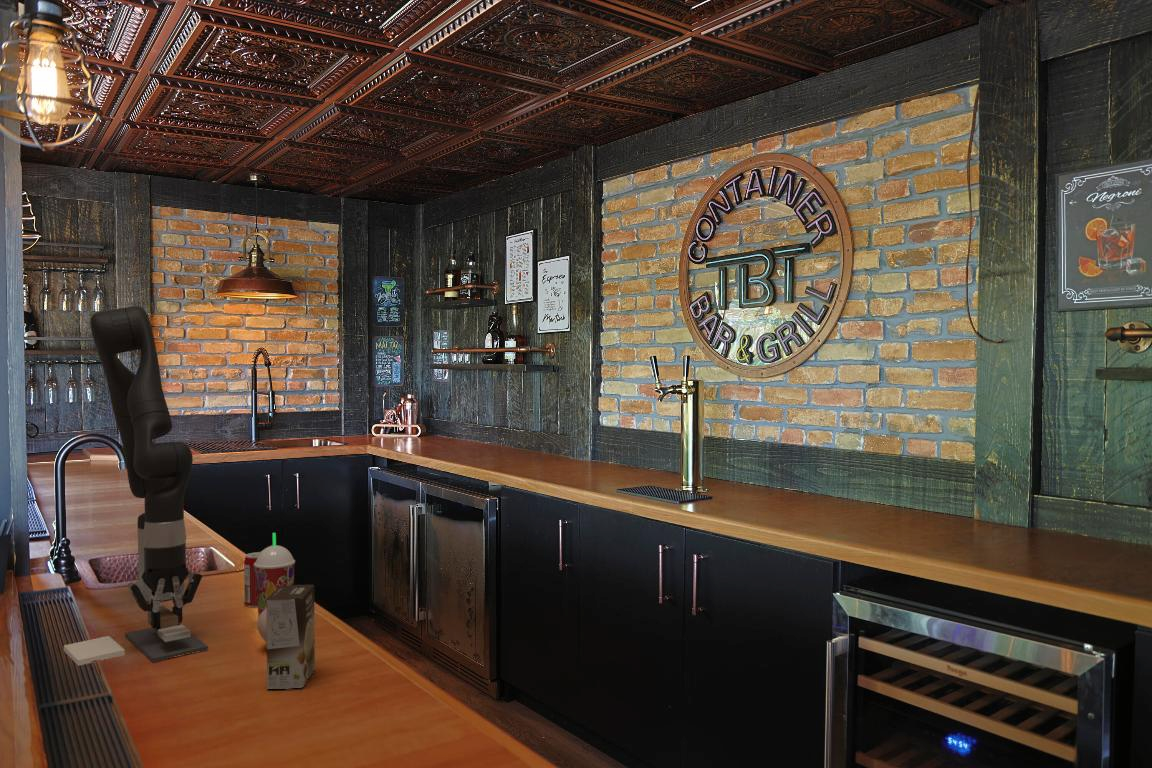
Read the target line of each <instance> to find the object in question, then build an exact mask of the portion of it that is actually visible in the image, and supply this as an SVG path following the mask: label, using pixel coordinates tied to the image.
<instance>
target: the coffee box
mask: <svg viewBox="0 0 1152 768" xmlns="http://www.w3.org/2000/svg"><path fill="white" fill-rule="evenodd" d="M266 608H267V642H266V681H267V684H266V685H267V686H266V687H267V689H286V690H290V689H289V688H300V687H304V688H305V686H306V685H307V683H308V682H309V680H310V678H311V677H312V675H313V674H314V672H315V671H316V649H315V648H316V646H315V645H316V640H315V637H316V634H315V628H316V625H315V623H316V622H315V621H316V620H315V615H316V614H315V584H294V585H291V586H280V587H279V588H278V589H277V590H276V591H274V592H273V593H272V594H271V595H270V596H269V597H268V598H267V599H266ZM314 670H315V671H314ZM313 671H314V672H313ZM312 673H313V674H312ZM311 674H312V675H311ZM310 676H311V677H310ZM309 677H310V678H309ZM308 679H309V680H308ZM306 682H307V683H306ZM305 684H306V685H305ZM304 685H305V686H304ZM267 689H266V690H267Z"/></svg>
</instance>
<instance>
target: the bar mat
mask: <svg viewBox="0 0 1152 768" xmlns="http://www.w3.org/2000/svg"><path fill="white" fill-rule="evenodd" d="M124 637H125V638H126V639H127V640H128V641H129V642H131V644H132V645H133V646H134V647H136V648H137V649H138V650H139V651H140V652H141V653H142V654H143V655H144V656H145V657H146V658H147V659H148V660H150V662H152V663H153V664H154V663H158V662H157V661H159V662H162V661H161V660H163V661H165V660H164V659H167V658H171V657H174V656H178V655H182V654H187V653H192V652H197V651H202V650H207V649H208V650H209V646H208V645H207V644H206V643H205V642H203V641H202V640H200V639H199V638H197V637H196V636H195V635H193V634H192V633H191V637H187V638H182V639H177V640H173V641H168V642H165V641H164V640H163V639H161V638H160V637H159V636H158V631H156V630H155V629H154V628H152V627H146V628H141V629H137V630H132V631H127V632H124ZM208 650H207V651H208ZM202 652H203V651H202ZM167 660H168V659H167Z"/></svg>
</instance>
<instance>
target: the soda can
mask: <svg viewBox="0 0 1152 768" xmlns="http://www.w3.org/2000/svg"><path fill="white" fill-rule="evenodd" d="M261 552H262V551H257V552H256V551H255V552H251V553H250V552H249V553H247V554H245V558H244V563H243V568H244V569H243V570H244V571H243V572H244V578H243V579H244V580H243V581H244V604H245V605H246V607H248V606H250V607H249V608H258V606H257V594H256V582H255V570H254V563H255V562H256V560H257V558H258V555H259V554H260V553H261Z"/></svg>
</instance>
